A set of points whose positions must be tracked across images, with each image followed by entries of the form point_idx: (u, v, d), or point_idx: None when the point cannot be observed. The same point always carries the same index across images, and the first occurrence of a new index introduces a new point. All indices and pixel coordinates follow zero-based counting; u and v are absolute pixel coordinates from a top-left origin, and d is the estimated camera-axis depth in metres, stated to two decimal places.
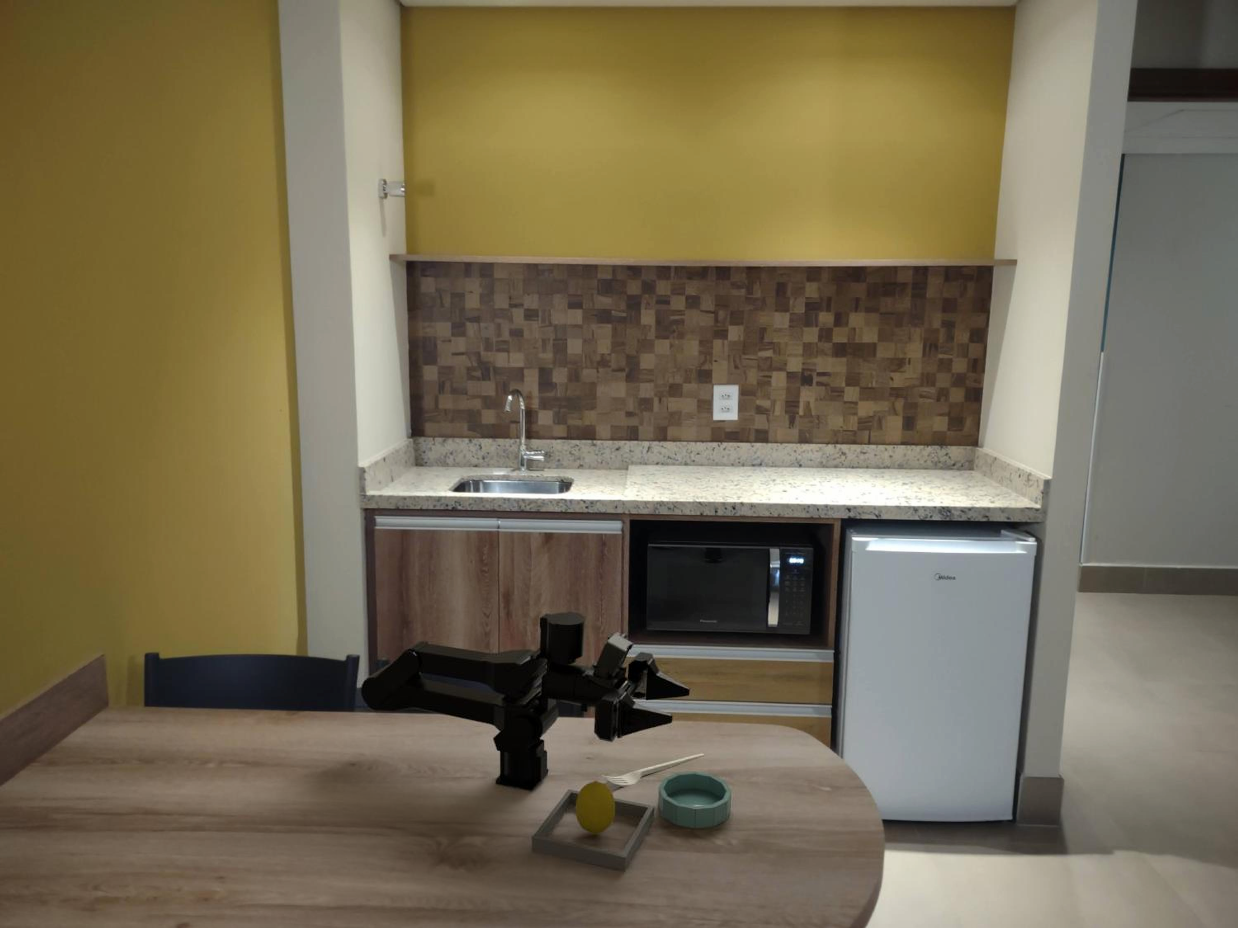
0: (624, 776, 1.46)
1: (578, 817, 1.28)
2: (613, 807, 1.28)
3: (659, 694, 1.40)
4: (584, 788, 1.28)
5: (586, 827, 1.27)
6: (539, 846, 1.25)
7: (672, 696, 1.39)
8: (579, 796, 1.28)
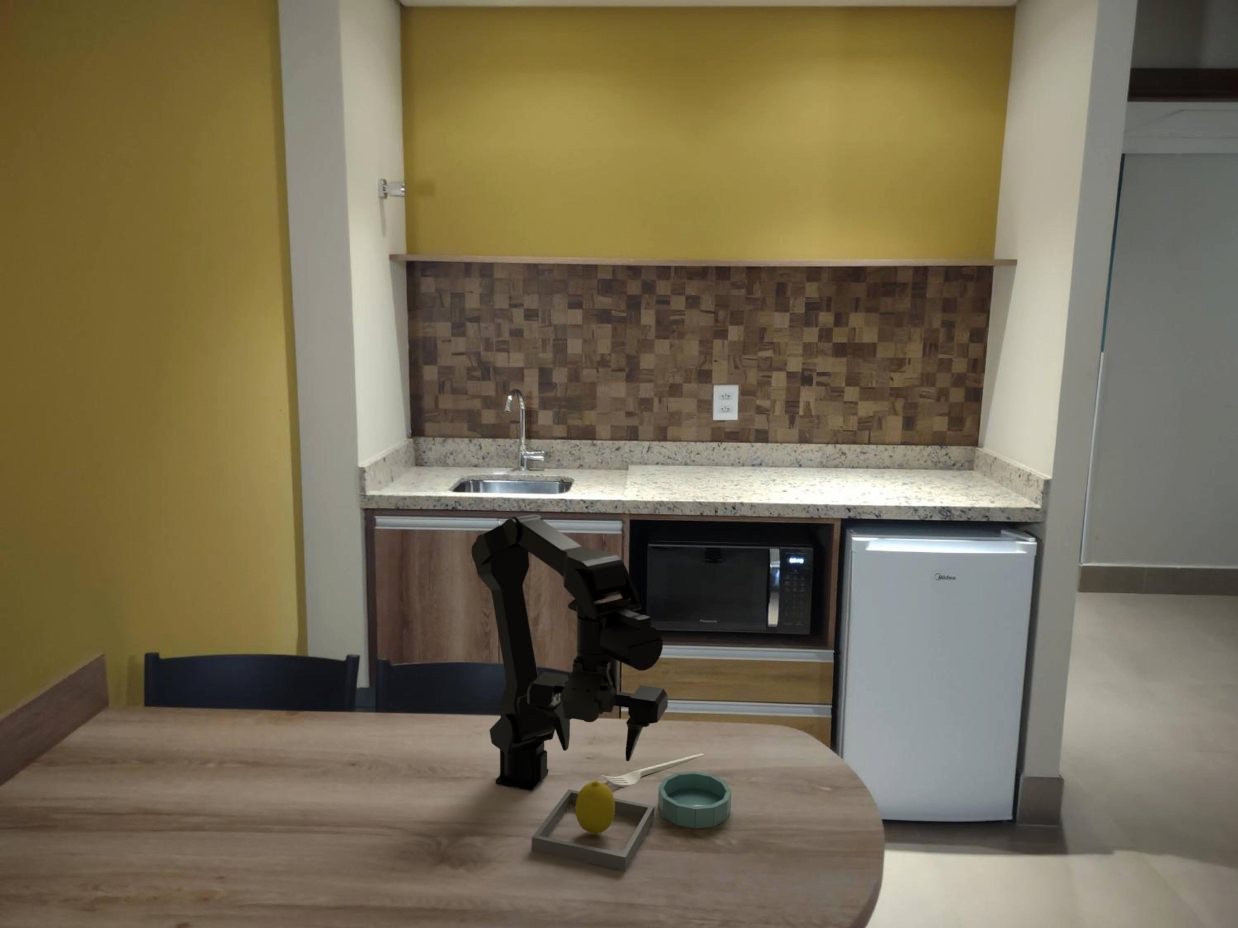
0: (624, 776, 1.46)
1: (578, 817, 1.28)
2: (613, 807, 1.28)
3: None
4: (584, 788, 1.28)
5: (586, 827, 1.27)
6: (539, 846, 1.25)
7: None
8: (579, 796, 1.28)
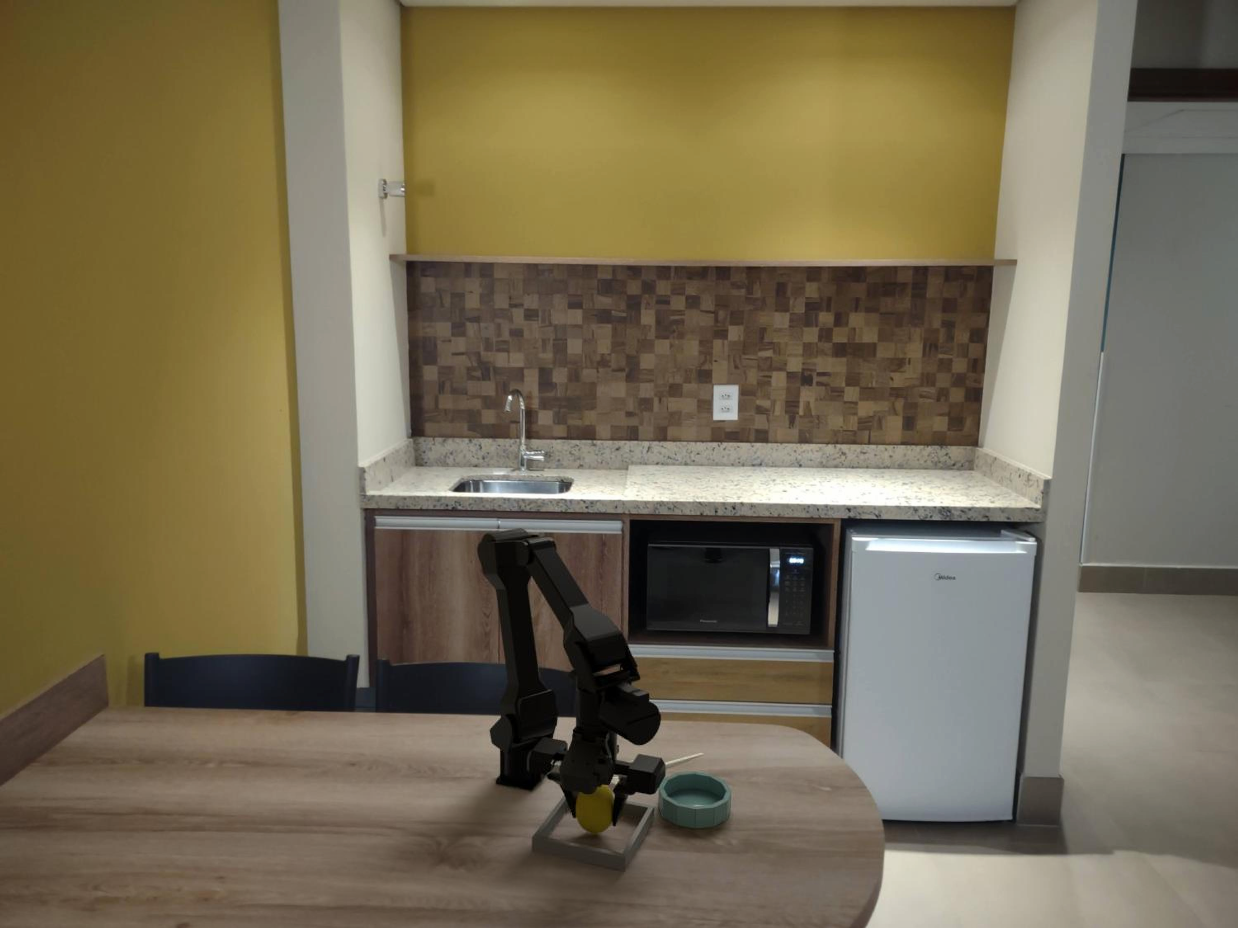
0: None
1: (578, 817, 1.28)
2: None
3: None
4: None
5: (586, 827, 1.27)
6: (539, 846, 1.25)
7: None
8: (579, 796, 1.28)
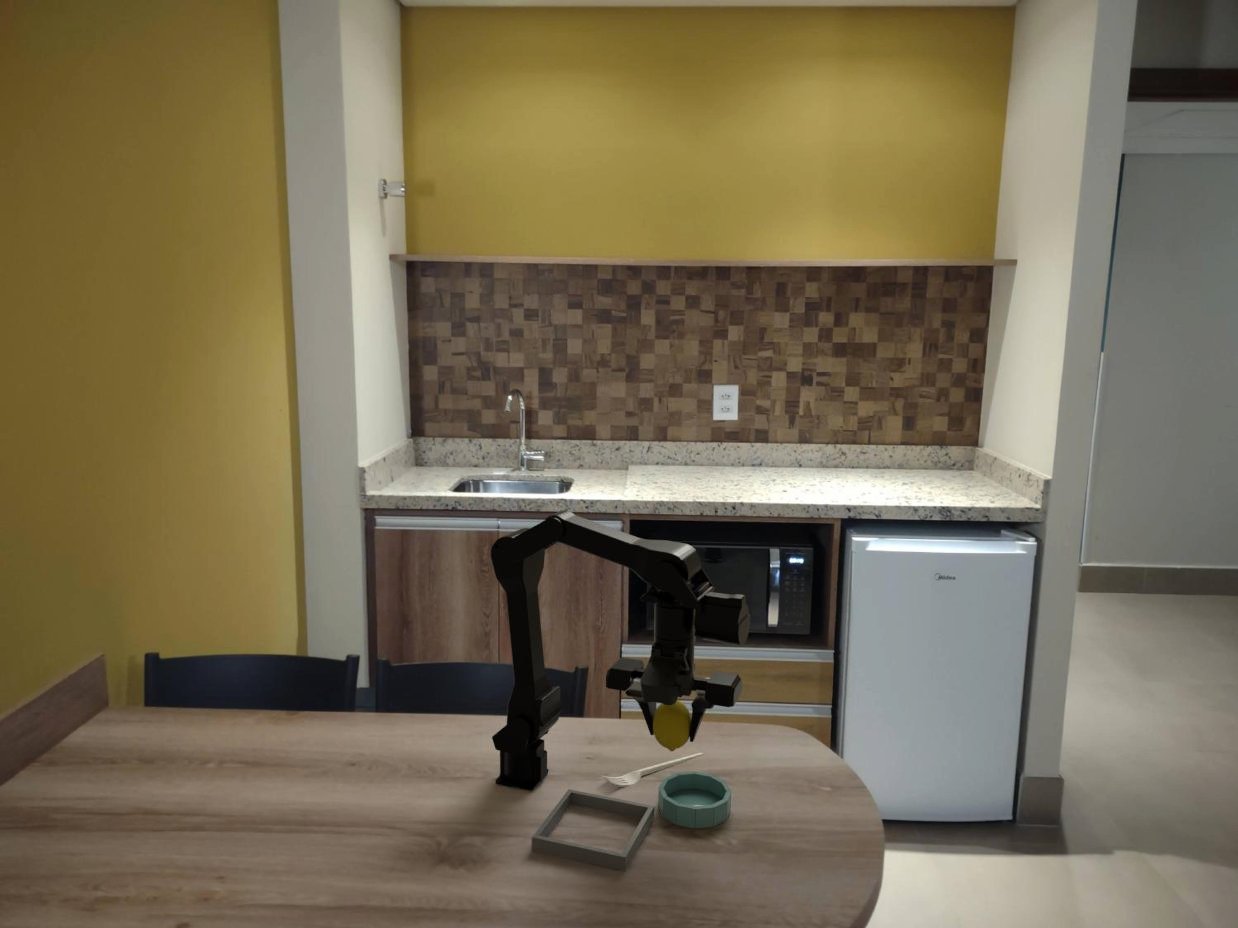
0: (624, 776, 1.46)
1: (656, 733, 1.31)
2: (690, 723, 1.31)
3: None
4: (661, 705, 1.32)
5: (664, 742, 1.30)
6: (539, 846, 1.25)
7: None
8: (657, 712, 1.31)
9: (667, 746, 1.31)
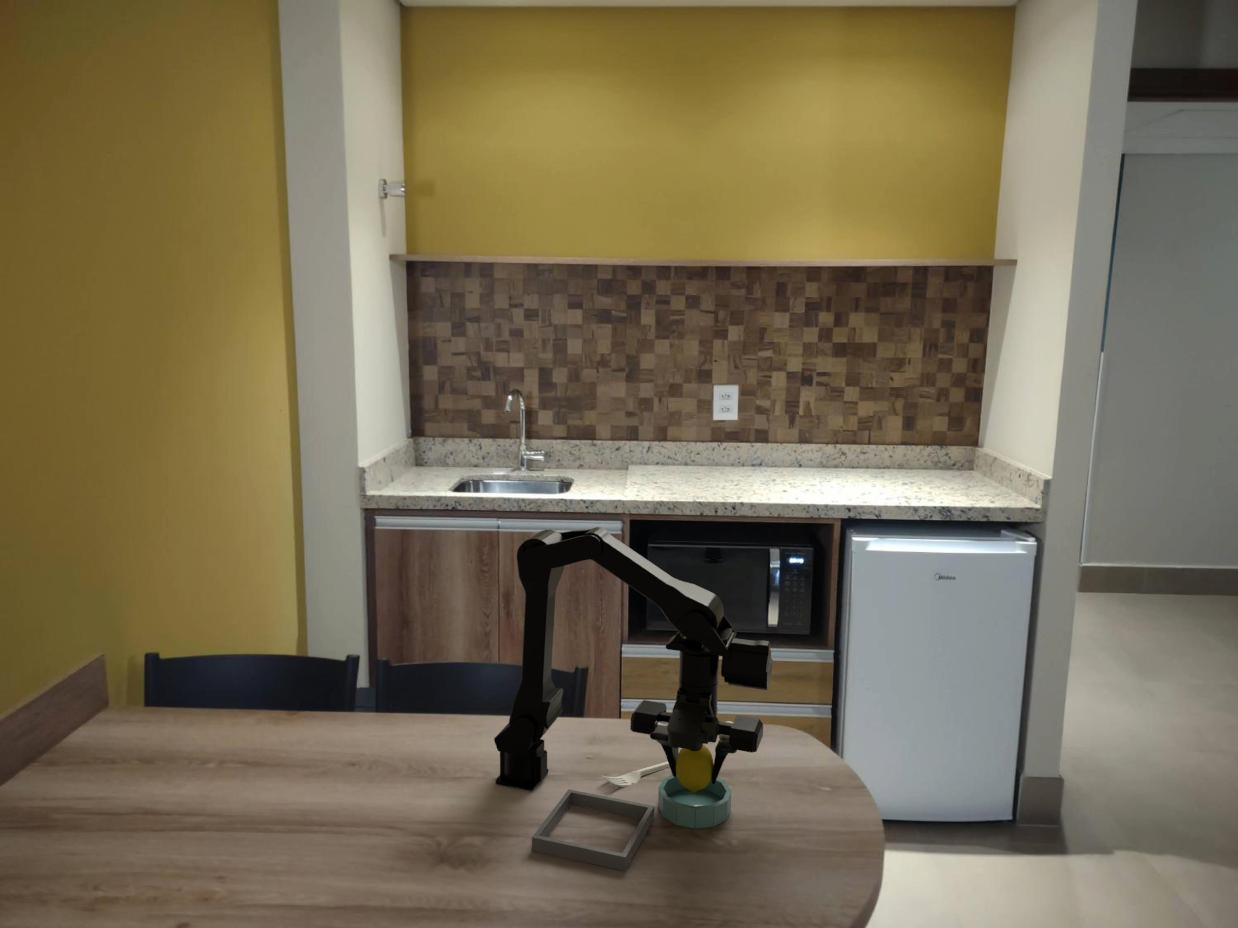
0: (624, 776, 1.46)
1: (679, 775, 1.35)
2: (712, 766, 1.35)
3: None
4: None
5: (687, 784, 1.34)
6: (539, 846, 1.25)
7: None
8: (680, 755, 1.35)
9: (690, 788, 1.34)
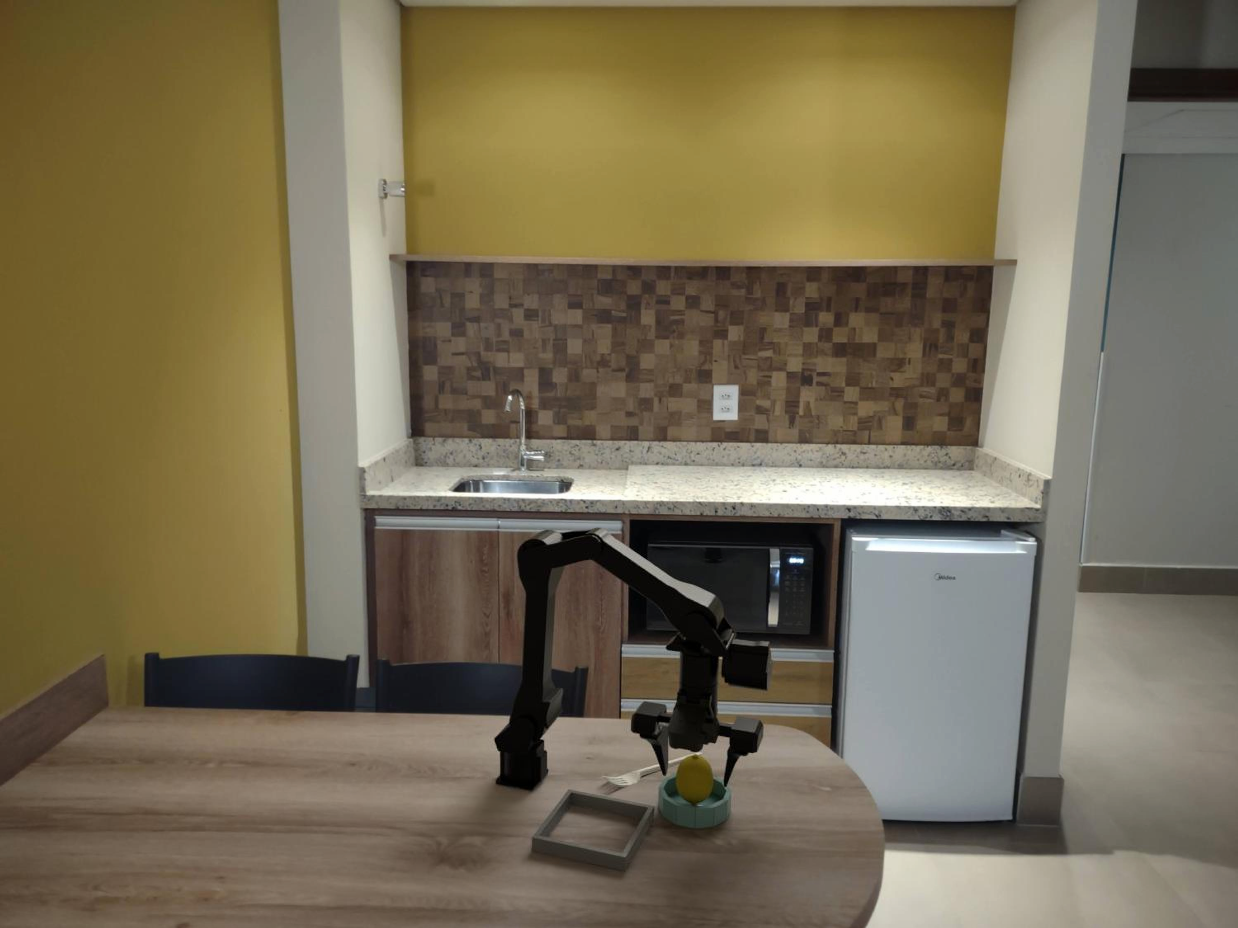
0: (624, 776, 1.46)
1: (679, 788, 1.35)
2: (712, 779, 1.35)
3: None
4: (684, 761, 1.35)
5: (687, 797, 1.34)
6: (539, 846, 1.25)
7: None
8: (680, 768, 1.35)
9: (690, 801, 1.35)
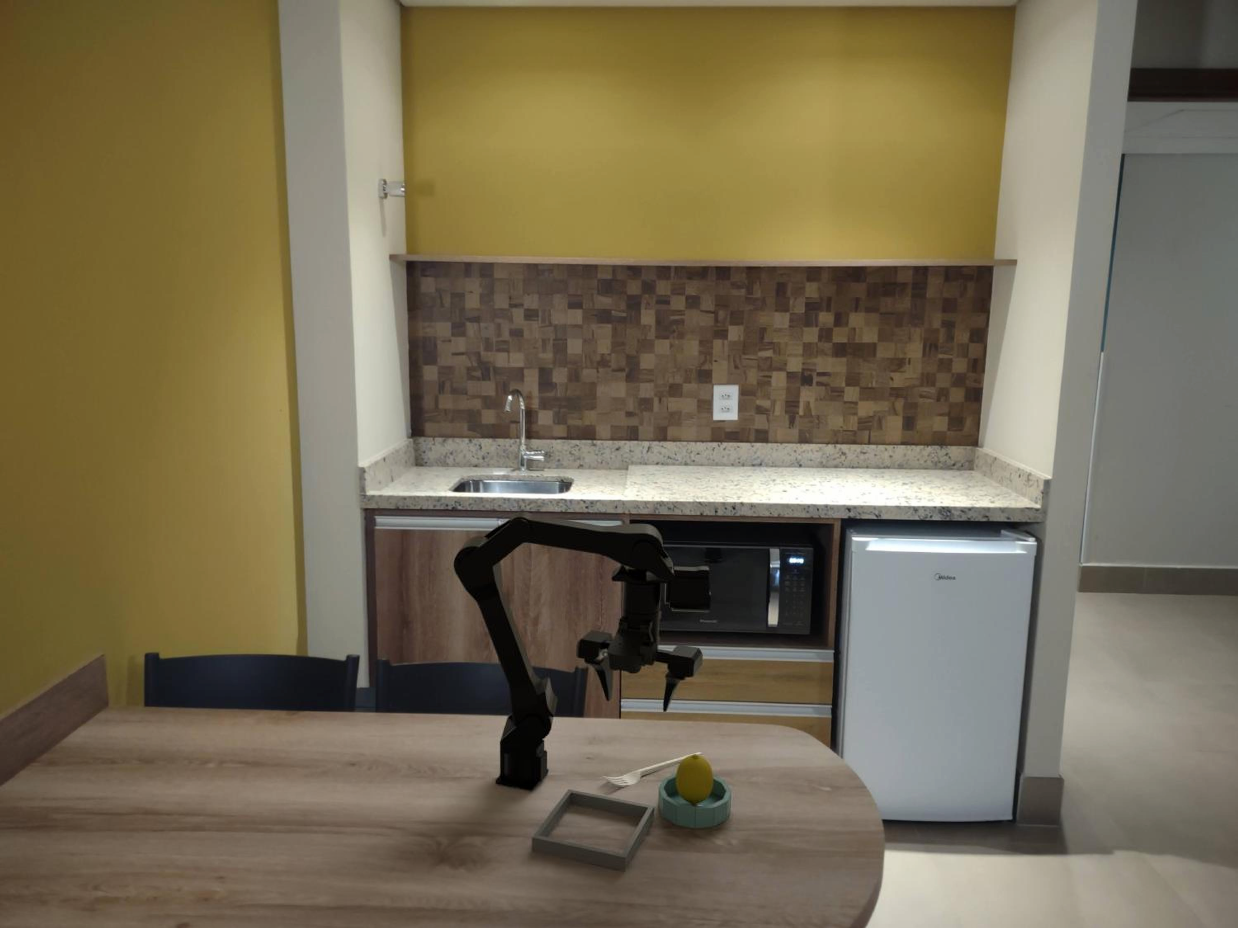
0: (624, 776, 1.46)
1: (679, 788, 1.35)
2: (712, 779, 1.35)
3: None
4: (684, 761, 1.35)
5: (687, 797, 1.34)
6: (539, 846, 1.25)
7: None
8: (680, 768, 1.35)
9: (690, 801, 1.35)
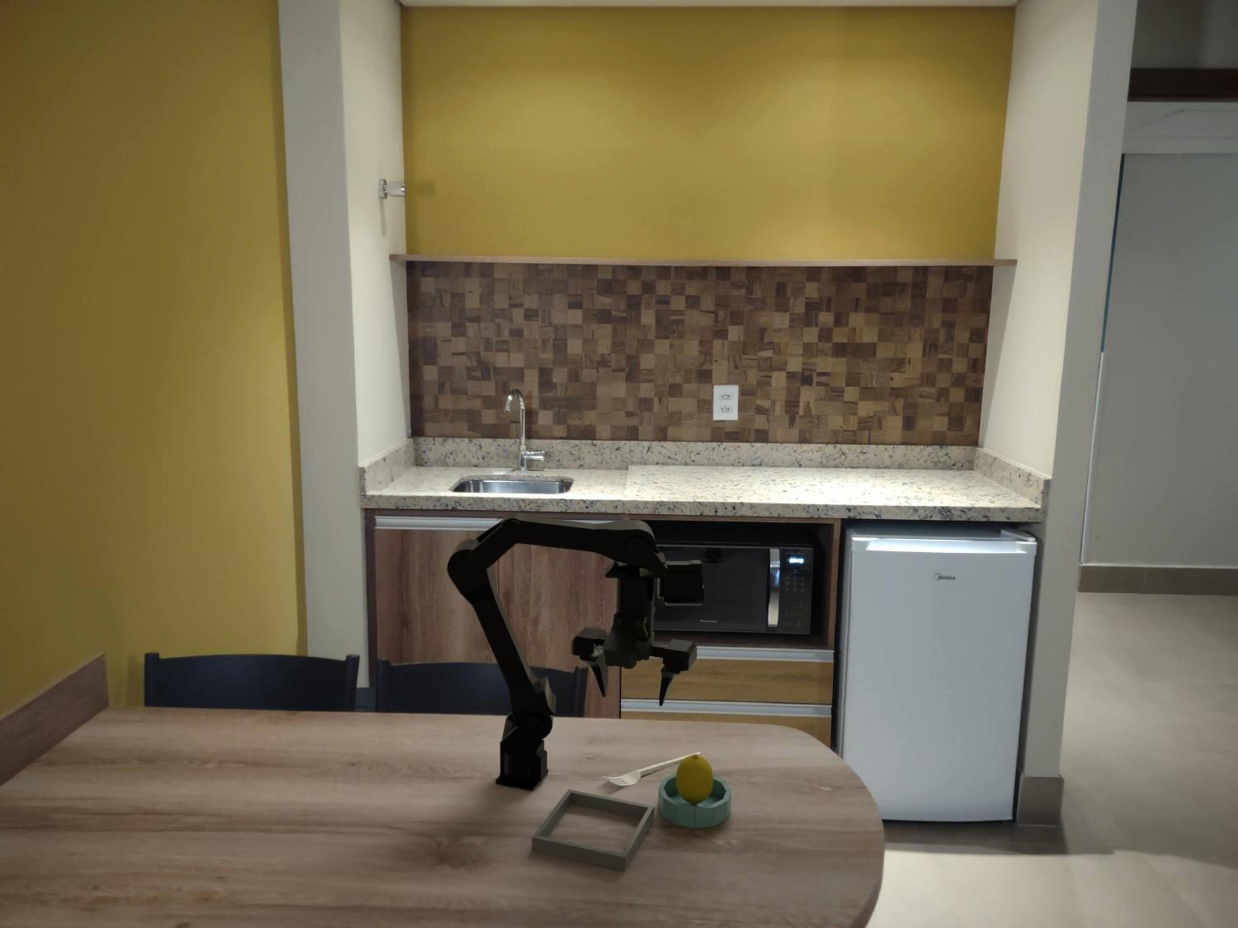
0: (624, 776, 1.46)
1: (679, 788, 1.35)
2: (712, 779, 1.35)
3: None
4: (684, 761, 1.35)
5: (687, 797, 1.34)
6: (539, 846, 1.25)
7: None
8: (680, 768, 1.35)
9: (690, 801, 1.35)
